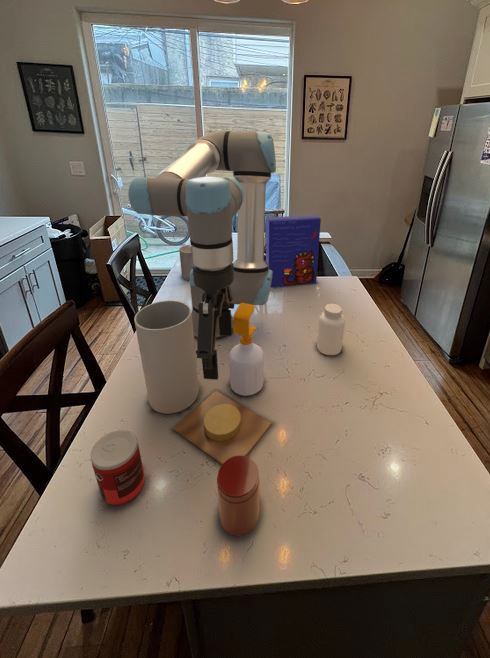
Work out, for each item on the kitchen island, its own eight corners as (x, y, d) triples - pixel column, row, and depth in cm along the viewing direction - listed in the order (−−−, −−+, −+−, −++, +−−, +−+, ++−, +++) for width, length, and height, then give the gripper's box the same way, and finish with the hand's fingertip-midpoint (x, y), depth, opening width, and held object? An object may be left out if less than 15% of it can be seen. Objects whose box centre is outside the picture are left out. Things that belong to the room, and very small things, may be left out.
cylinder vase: (147, 385, 89) (133, 306, 79) (194, 373, 94) (186, 296, 84) (150, 422, 78) (134, 335, 69) (203, 406, 83) (195, 322, 73)
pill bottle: (341, 358, 101) (346, 316, 95) (315, 354, 102) (318, 313, 97) (342, 342, 108) (346, 302, 102) (317, 338, 110) (321, 299, 104)
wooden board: (173, 429, 77) (173, 428, 76) (215, 392, 87) (215, 390, 87) (232, 472, 68) (232, 471, 67) (271, 424, 78) (271, 422, 78)
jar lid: (248, 421, 79) (248, 414, 78) (223, 448, 72) (223, 441, 71) (221, 404, 83) (221, 398, 82) (196, 428, 76) (195, 422, 75)
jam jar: (211, 519, 60) (207, 480, 56) (237, 485, 65) (235, 447, 61) (242, 545, 56) (240, 506, 52) (266, 507, 62) (267, 469, 58)
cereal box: (311, 277, 152) (316, 214, 141) (316, 283, 147) (320, 218, 135) (265, 281, 147) (266, 216, 136) (268, 287, 142) (269, 220, 130)
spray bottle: (268, 376, 93) (269, 301, 83) (255, 400, 85) (254, 320, 75) (239, 368, 96) (237, 295, 86) (224, 391, 88) (220, 312, 78)
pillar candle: (186, 270, 156) (184, 241, 150) (206, 272, 155) (204, 242, 149) (178, 279, 147) (174, 248, 141) (199, 281, 146) (196, 250, 140)
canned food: (110, 468, 68) (100, 430, 64) (150, 465, 69) (142, 428, 64) (94, 508, 61) (81, 469, 57) (138, 505, 62) (129, 466, 57)
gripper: (210, 239, 73) (215, 319, 81) (168, 296, 50) (182, 400, 58) (243, 240, 72) (245, 321, 81) (217, 298, 50) (224, 402, 58)
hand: (219, 354), depth 70 cm, fingers open, 13 cm apart
